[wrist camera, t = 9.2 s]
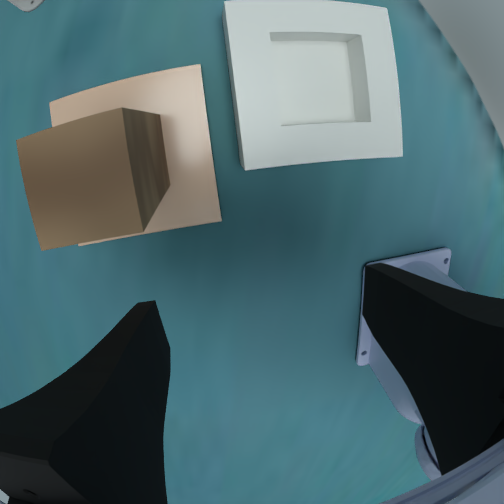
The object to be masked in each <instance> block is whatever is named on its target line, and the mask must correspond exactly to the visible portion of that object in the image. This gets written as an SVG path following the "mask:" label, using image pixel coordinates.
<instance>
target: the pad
mask: <svg viewBox="0 0 504 504" xmlns="http://www.w3.org/2000/svg"><path fill="white" fill-rule="evenodd" d="M49 104H50V112H51V120H52V127H54V126H57V125H60V124H64V123H67V122H70V121H73V120H77V119H80V118H83V117H87V116H90V115H94V114H98V113H101V112H105V111H109V110H113V109H117V108H121V107H123V108H128V109H134V110H140V111H145V112H150V113H155V114H160V118H161V125H162V133H163V140H164V147H165V154H166V160H167V167H168V173H169V179H170V187H169V188H168V190H167V192H166V194H165V195H164V197H163V199H162V200H161V202H160V204H159V206H158V207H157V209H156V211H155V213H154V214H153V216H152V218H151V220H150V221H149V223H148V225H147V227H146V229H145V230H144V232H142V233H136V234H130V235H124V236H119V237H113V238H107V239H102V240H96V241H91V242H85V243H80V244H78V245H79V246H82V245H87V244H93V243H98V242H103V241H109V240H114V239H119V238H125V237H130V236H136V235H142V234H147V233H153V232H159V231H165V230H170V229H176V228H182V227H188V226H195V225H201V224H207V223H213V222H220V221H222V219H221V212H220V206H219V199H218V192H217V185H216V178H215V171H214V164H213V157H212V150H211V143H210V135H209V128H208V120H207V113H206V105H205V97H204V89H203V81H202V73H201V65H200V64H198V65H191V66H185V67H179V68H174V69H168V70H163V71H158V72H153V73H148V74H144V75H140V76H135V77H131V78H127V79H123V80H119V81H115V82H112V83H108V84H104V85H101V86H97V87H94V88H91V89H87V90H84V91H81V92H78V93H75V94H72V95H69V96H66V97H63V98H60V99H58V100H55V101H52V102H49Z"/></svg>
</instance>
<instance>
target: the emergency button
mask: <svg viewBox="0 0 504 504" xmlns="http://www.w3.org/2000/svg"><path fill="white" fill-rule="evenodd" d="M8 1H9V2H11V3H12V4H14V5H15V6H17V7H18V8H20V9H21V10H22V11H24V12H30V11H33V10H35V9H36V8H37V7H38V6H40V5H41V4H42V3H43V2H44V0H8Z"/></svg>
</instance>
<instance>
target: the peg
mask: <svg viewBox="0 0 504 504" xmlns="http://www.w3.org/2000/svg"><path fill="white" fill-rule="evenodd" d="M16 142H17V149H18V155H19V161H20V166H21V172H22V177H23V182H24V186H25V191H26V195H27V199H28V204H29V208H30V212H31V216H32V219H33V223H34V227H35V230H36V234H37V237H38V241H39V244H40V247H41V250H42V251H43V250H48V249H53V248H59V247H64V246H69V245H74V244H80V243H85V242H91V241H96V240H102V239H107V238H113V237H119V236H124V235H130V234H136V233H142V232H144V230H145V229H146V227H147V225H148V223H149V221H150V220H151V218H152V216H153V214H154V213H155V211H156V209H157V207H158V206H159V204H160V202H161V200H162V199H163V197H164V195H165V194H166V192H167V190H168V188H169V187H170V179H169V173H168V167H167V160H166V154H165V147H164V140H163V133H162V125H161V118H160V114H155V113H150V112H145V111H140V110H134V109H128V108H123V107H121V108H117V109H113V110H109V111H105V112H101V113H98V114H94V115H90V116H87V117H83V118H80V119H77V120H73V121H70V122H67V123H64V124H60V125H57V126H54V127H51V128H48V129H45V130H43V131H40V132H37V133H34V134H31V135H29V136H26V137H23V138H21V139H18V140H16Z"/></svg>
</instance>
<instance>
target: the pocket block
mask: <svg viewBox="0 0 504 504" xmlns="http://www.w3.org/2000/svg"><path fill="white" fill-rule="evenodd" d="M222 21H223V29H224V37H225V45H226V53H227V61H228V69H229V77H230V85H231V93H232V101H233V109H234V117H235V125H236V133H237V141H238V149H239V157H240V165H241V166H242V167H243V168H244V170H253V169H261V168H269V167H277V166H286V165H295V164H305V163H315V162H326V161H338V160H351V159H366V158H384V157H403V146H402V124H401V108H400V96H399V86H398V76H397V68H396V60H395V53H394V46H393V39H392V33H391V27H390V22H389V17H388V11H387V8H384V7H378V6H371V5H364V4H357V3H348V2H339V1H327V0H234V1H224V6H223V13H222Z"/></svg>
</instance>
